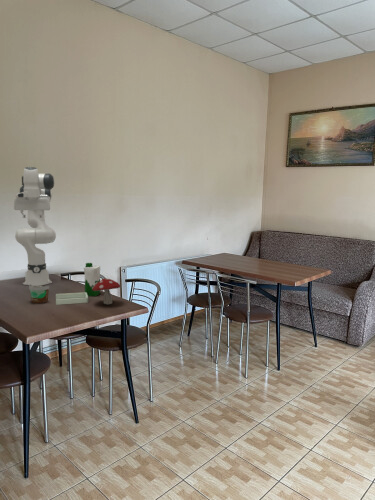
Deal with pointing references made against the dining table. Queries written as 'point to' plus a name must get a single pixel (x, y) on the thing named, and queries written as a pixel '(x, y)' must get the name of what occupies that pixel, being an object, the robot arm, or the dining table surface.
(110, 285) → the decorative mushroom
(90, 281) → the milk carton
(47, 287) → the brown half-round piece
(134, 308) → the dining table surface
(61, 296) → the pale green u-shaped frame
